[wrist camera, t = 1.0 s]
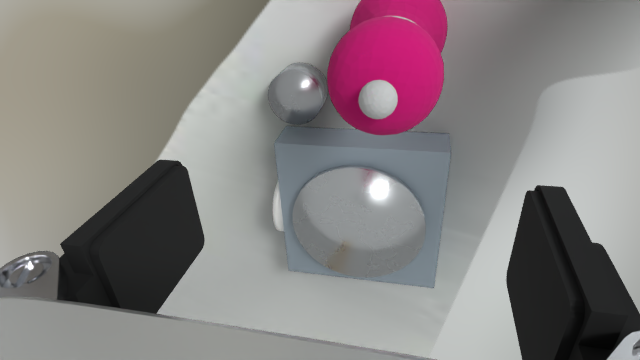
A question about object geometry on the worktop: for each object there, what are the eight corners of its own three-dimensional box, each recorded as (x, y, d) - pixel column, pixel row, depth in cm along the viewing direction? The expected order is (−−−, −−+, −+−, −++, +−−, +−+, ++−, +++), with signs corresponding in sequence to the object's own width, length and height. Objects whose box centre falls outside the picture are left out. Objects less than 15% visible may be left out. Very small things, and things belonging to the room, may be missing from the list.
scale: (448, 130, 40) (451, 159, 34) (433, 258, 48) (434, 296, 43) (280, 123, 43) (261, 148, 38) (293, 243, 51) (278, 277, 46)
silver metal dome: (327, 62, 38) (320, 71, 36) (329, 113, 41) (322, 125, 38) (275, 61, 39) (265, 70, 37) (280, 111, 42) (271, 123, 39)
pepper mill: (427, 74, 37) (427, 195, 20) (348, 52, 37) (284, 153, 20) (459, -13, 33) (492, 47, 16) (370, -36, 33) (313, -2, 16)
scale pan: (431, 169, 36) (431, 173, 36) (420, 279, 43) (420, 284, 42) (289, 160, 39) (286, 164, 38) (299, 264, 46) (297, 269, 45)
